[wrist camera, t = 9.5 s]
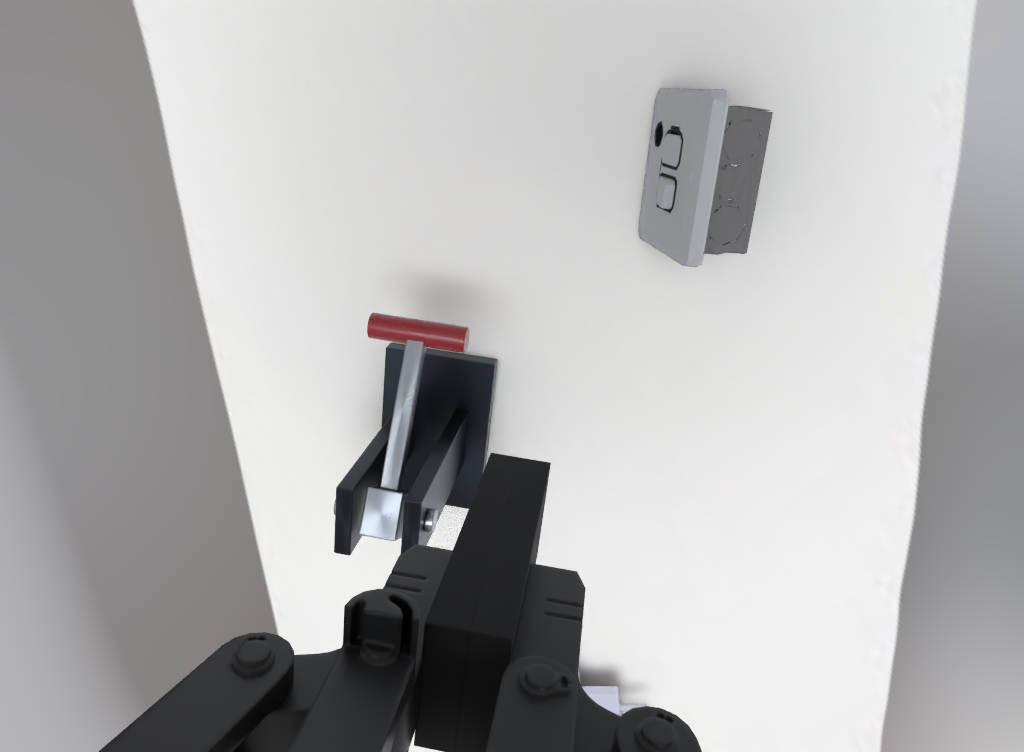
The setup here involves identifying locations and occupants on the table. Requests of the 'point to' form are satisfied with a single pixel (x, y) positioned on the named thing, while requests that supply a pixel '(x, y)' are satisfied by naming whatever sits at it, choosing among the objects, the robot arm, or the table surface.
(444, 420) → the bracket
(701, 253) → the electrical switch
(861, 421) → the table surface
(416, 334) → the lever
